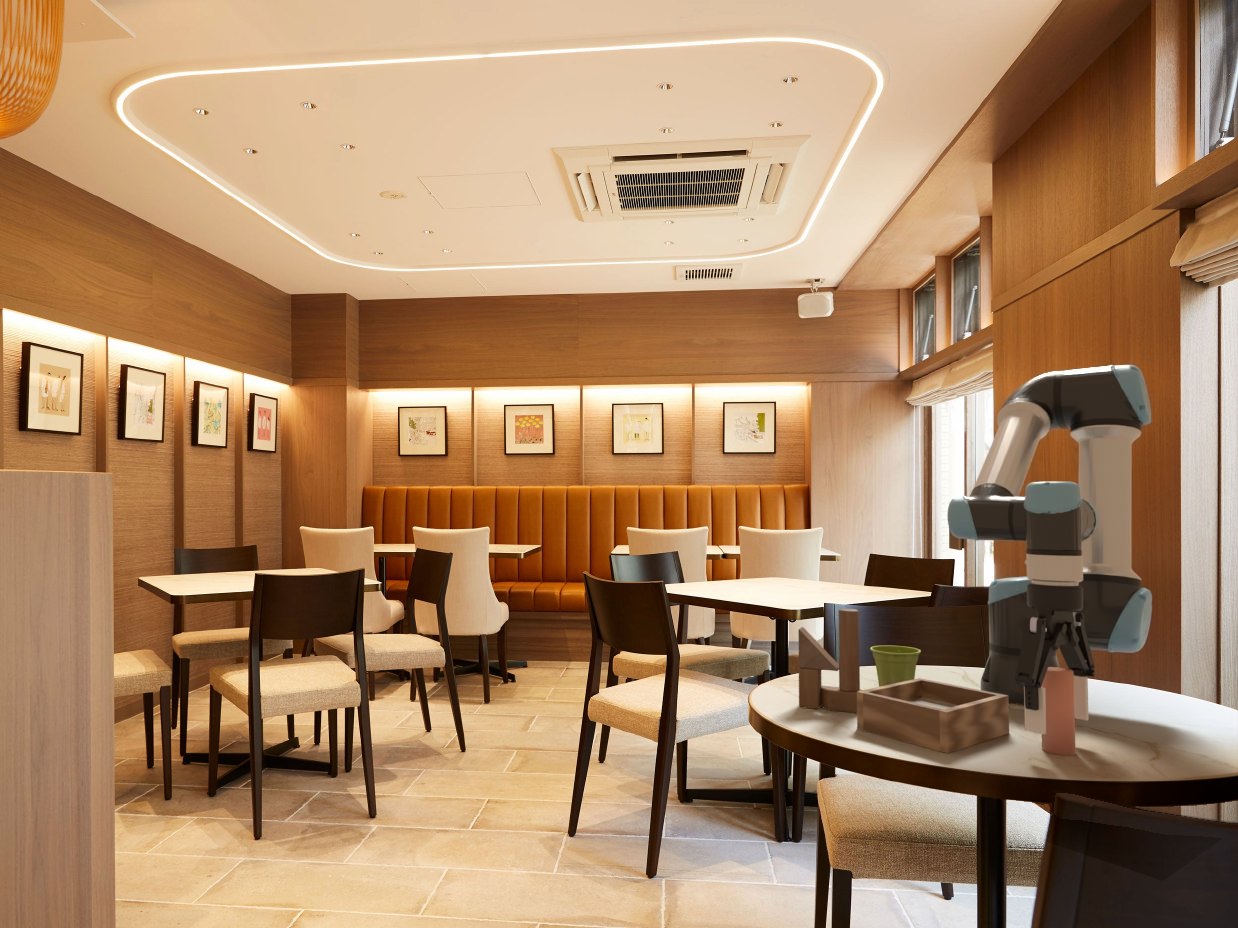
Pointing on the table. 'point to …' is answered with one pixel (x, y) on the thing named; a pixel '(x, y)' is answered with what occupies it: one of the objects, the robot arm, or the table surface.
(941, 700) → the box
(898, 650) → the plant pot
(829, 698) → the brown wooden stacked blocks
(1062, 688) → the peg
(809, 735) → the table surface
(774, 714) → the table surface
